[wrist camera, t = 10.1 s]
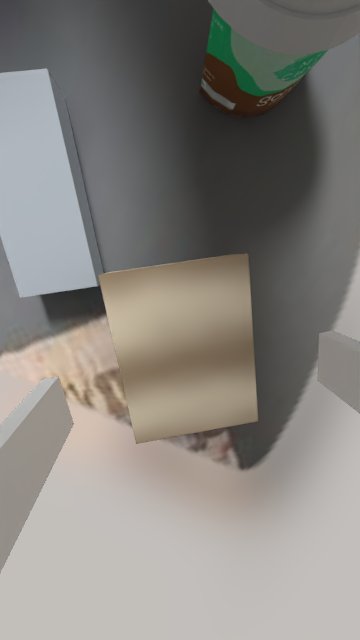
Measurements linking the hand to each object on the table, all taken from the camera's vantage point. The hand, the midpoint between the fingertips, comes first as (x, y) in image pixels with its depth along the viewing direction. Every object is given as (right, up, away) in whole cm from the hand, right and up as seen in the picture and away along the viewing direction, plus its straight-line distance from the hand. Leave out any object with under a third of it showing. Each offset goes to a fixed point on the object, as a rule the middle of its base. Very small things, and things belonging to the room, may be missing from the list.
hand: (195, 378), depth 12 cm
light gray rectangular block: (-12, +13, +8) cm, 19 cm away
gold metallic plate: (-1, +1, +7) cm, 7 cm away
